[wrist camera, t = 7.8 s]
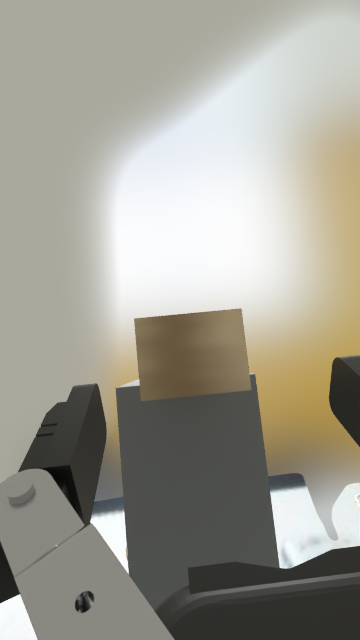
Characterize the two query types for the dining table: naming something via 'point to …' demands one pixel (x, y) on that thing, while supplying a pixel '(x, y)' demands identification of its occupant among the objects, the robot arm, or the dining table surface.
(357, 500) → the square plate
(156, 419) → the stand
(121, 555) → the dining table surface
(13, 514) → the robot arm
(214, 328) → the block
